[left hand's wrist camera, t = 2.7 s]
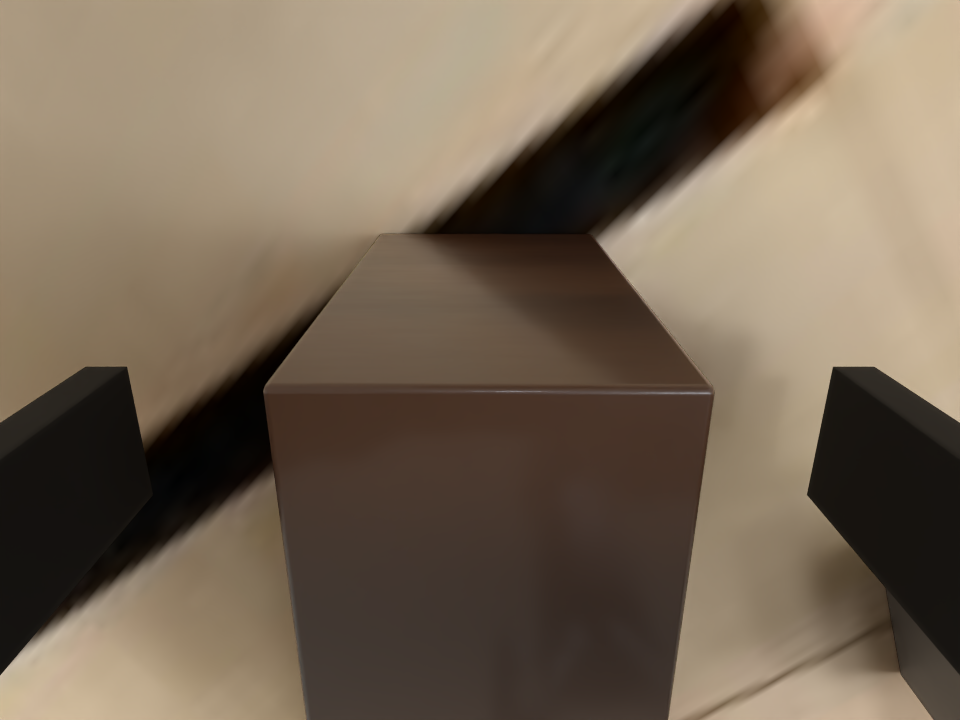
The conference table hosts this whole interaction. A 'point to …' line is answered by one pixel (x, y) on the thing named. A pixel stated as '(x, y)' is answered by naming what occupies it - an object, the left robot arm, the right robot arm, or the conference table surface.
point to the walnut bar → (487, 485)
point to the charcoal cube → (924, 666)
